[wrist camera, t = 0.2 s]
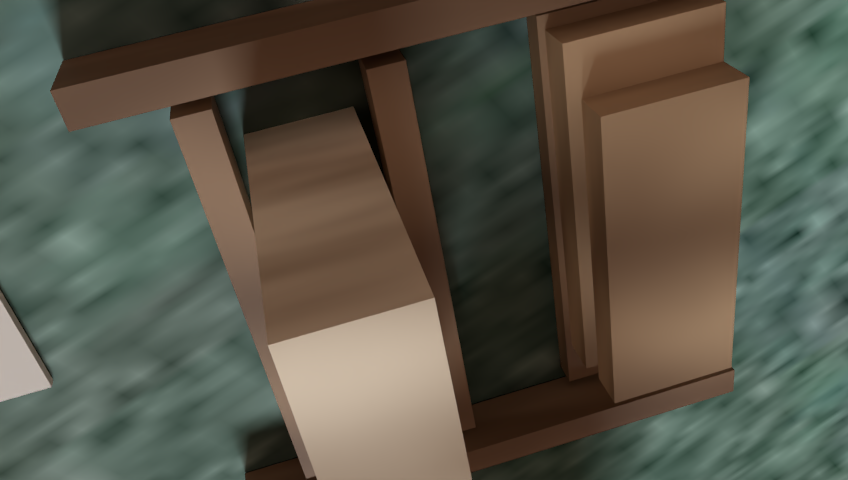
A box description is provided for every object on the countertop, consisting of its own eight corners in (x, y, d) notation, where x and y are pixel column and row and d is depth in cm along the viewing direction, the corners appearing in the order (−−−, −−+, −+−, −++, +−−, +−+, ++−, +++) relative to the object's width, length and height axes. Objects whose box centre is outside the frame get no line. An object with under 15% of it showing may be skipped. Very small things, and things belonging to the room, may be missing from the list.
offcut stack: (685, 320, 29) (741, 386, 26) (556, 359, 29) (598, 430, 26) (692, -40, 22) (769, -5, 19) (520, 3, 22) (572, 45, 19)
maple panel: (417, 375, 27) (500, 615, 20) (331, 400, 27) (381, 654, 19) (353, 105, 22) (434, 297, 14) (243, 134, 21) (267, 345, 14)
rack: (703, 355, 30) (733, 391, 28) (253, 492, 28) (257, 539, 26) (718, -98, 21) (763, -85, 19) (62, 60, 19) (49, 91, 18)
